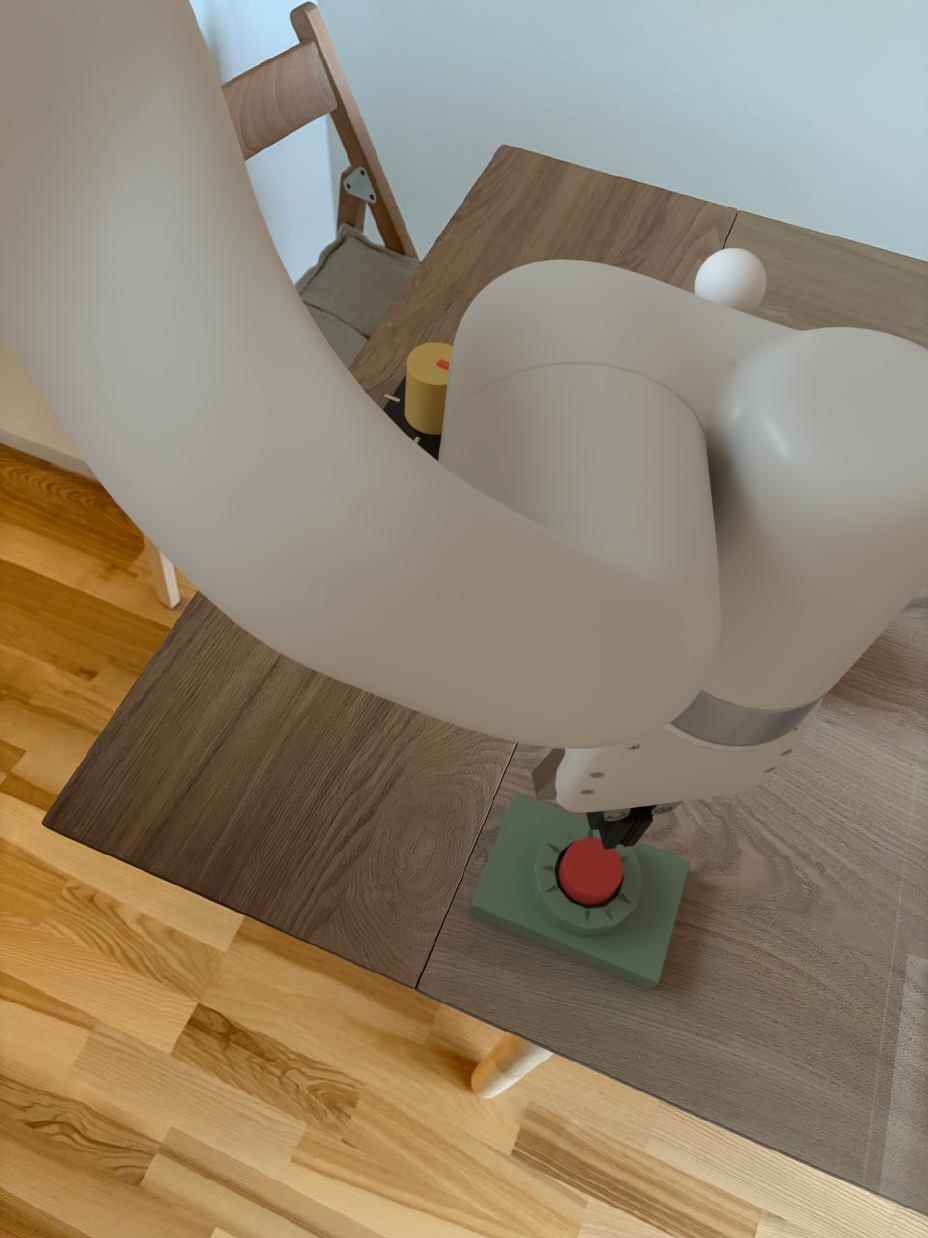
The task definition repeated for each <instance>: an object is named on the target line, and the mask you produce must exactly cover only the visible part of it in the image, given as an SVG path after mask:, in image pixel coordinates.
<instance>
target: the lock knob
mask: <svg viewBox="0 0 928 1238" xmlns="http://www.w3.org/2000/svg"><path fill="white" fill-rule="evenodd" d="M452 348H453V345H451V344H448V343H444V342H426V343H422V344H420V345H418V346H416V347H414V348H413V349H412V350H411V351H410V352H409V354H408V356H407V357H406V358H407V359H406V371H405V372H406V373H405V375H406V393H405V417H406V420H407V421H408V423H409V424H410V425H411V426H412V427H413V428H414V429H416V430H418V431H420V432H422V433H426V434H431V435H439V434H442V427H443V418H444V409H445V400H446V391H447V382H448V373H449V365H450V360H451V354H452Z"/></svg>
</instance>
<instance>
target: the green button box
mask: <svg viewBox="0 0 928 1238" xmlns="http://www.w3.org/2000/svg"><path fill="white" fill-rule="evenodd" d="M584 838H597V839H600V840H601V837H600V833H599V829H597V830H591V828H590V826H589V823H588V819H584V818H582V817H579V816H578V815H574V814H572V813H571V812H570V813H569V812H567V811H565V810H562V809H560V808H557V807H554V806H552V805H549V804H547V803H544V802H542V801H540V800H538V799H534V798H532V797H529V796H528V795H525V794H522V793H519V792H517V791H515V792H514V793H513V795H512V798H511V801H510V803H509V806H508V808H507V811H506V813H505V817H504V818H503V822H502V824H501V827H500V829H499V832H498V835H497V837H496V840H495V842H494V845H493V847H492V849H491V853H490V855H489V858H488V860H487V863H486V865H485V868H484V871H483V873H482V875H481V878H480V881H479V883H478V885H477V889H476V891H475V894H474V897H473V898H472V901H471V905H470V907H469V911H468V913H467V914H468V916H471V917H473V918H475V919H476V918H477V919H478V920H481V921H483V922H485V923H488V924H490V925H492V926H494V927H497V928H499V929H502V930H504V931H507V932H509V933H512V934H514V935H516V936H518V937H521V938H524V939H526V940H528V941H531V942H533V943H536V944H538V945H540V946H542V947H545V948H547V949H549V950H551V951H554V952H556V953H559V954H561V955H564V956H567V957H569V958H571V959H574V960H576V961H578V962H581V963H583V964H585V965H587V966H590V967H592V968H595V969H597V970H600V971H602V972H604V973H607V974H609V975H611V976H613V977H616V978H619V979H621V980H623V981H626V982H629V983H631V984H632V985H635V986H638V987H641V988H642V989H645V990H647V991H651V990H653V988H655V987H656V986H657V985H658V984H659V983H660V980H661V976H662V972H663V970H664V966H665V961H666V957H667V955H668V950H669V946H670V942H671V939H672V936H673V931H674V927H675V923H676V920H677V915H678V912H679V908H680V904H681V900H682V896H683V892H684V889H685V885H686V881H687V877H688V874H689V869H690V865H691V861H689V860H687V859H685V858H682V857H679V856H677V855H675V854H672V853H669V852H667V851H664V850H662V849H660V848H657V847H655V846H652V845H649V844H648V843H645V842H642V841H640V840H638V842H637V843H636V844H635V845H634V846H629V847H624V846H623V845H620V844H619V845H617V846H616V847H615V848H614V849H615V850H616V851H617V853H618V854H619V856H620V858H621V861H622V865H623V876H622V880H621V882H620V884H619V886H618V887H617V889H616V890H615V891H614V893H613V894H612V895H611V896H610V897H609V898H608V899H607V900H606V901H604V902H602V903H599V904H595V905H587V904H582V903H579V902H577V901H575V900H574V899H572V898H571V897H570V896H569V895H568V894H567V893H566V892H565V890H564V889H563V887H562V885H561V882H560V878H559V867H560V864H561V861H562V859H563V857H564V856H565V854H566V852H567V850H568V849H569V847H570V846H571V845H572V844H573V843H575V842H576V841H578V840H581V839H584Z"/></svg>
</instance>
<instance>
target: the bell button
mask: <svg viewBox="0 0 928 1238" xmlns="http://www.w3.org/2000/svg"><path fill="white" fill-rule="evenodd" d="M622 876H623V865H622V861H621V858H620V856H619V854H618V853H617V851H616V850H615V849H607V850H605V849H604V848H603V845H602V841H601V840H600V839H597V838H584V839H581V840H578V841H576V842H575V843H573V844H572V845H571V846H570V847H569V849H568V850H567V852H566V854H565V856H564V857H563V859H562V861H561V864H560V867H559V878H560V882H561V885H562V887H563V889H564V890H565V892H566V893H567V894H568V895H569V896H570V897H571V898H572V899H574V900H575V901H577V902H579V903H582V904H587V905H595V904H599V903H602V902H604V901H606V900H607V899H608V898H609V897H610V896H611V895H612V894H613V893H614V891H615V890H616V889H617V887H618V886H619V884H620V882H621V880H622Z"/></svg>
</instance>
